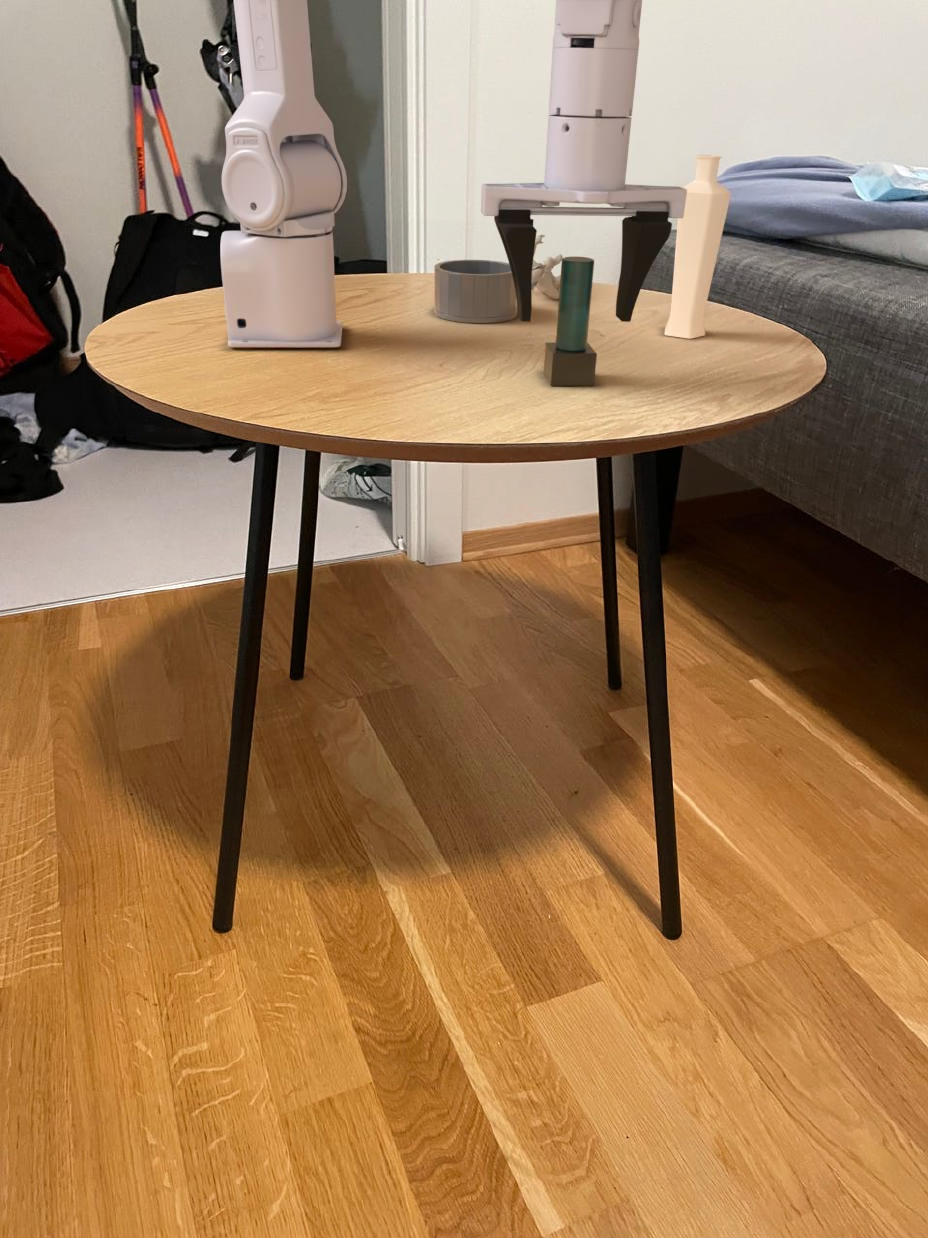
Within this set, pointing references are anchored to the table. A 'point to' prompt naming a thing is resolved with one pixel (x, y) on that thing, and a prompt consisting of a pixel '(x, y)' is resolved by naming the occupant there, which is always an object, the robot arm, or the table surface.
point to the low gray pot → (474, 291)
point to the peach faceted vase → (697, 249)
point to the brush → (572, 328)
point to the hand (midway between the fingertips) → (573, 318)
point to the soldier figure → (546, 274)
